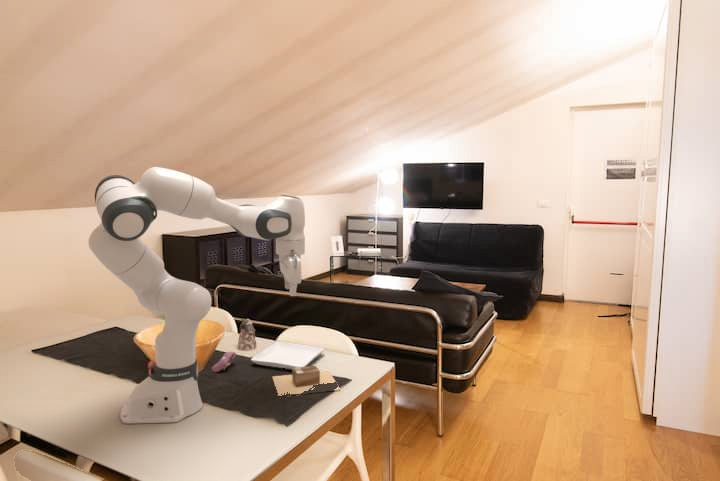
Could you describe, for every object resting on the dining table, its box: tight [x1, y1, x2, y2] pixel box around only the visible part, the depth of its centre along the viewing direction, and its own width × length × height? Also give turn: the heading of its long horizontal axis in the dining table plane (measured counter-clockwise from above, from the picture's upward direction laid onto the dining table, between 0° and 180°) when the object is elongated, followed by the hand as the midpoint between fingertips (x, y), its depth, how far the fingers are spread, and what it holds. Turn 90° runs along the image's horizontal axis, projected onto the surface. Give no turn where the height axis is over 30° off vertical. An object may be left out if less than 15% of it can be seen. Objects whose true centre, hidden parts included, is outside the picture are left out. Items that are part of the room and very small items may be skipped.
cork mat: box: [272, 370, 341, 397], centre depth 173 cm, size 20×16×1 cm
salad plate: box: [250, 341, 325, 371], centre depth 194 cm, size 21×21×3 cm
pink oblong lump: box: [211, 350, 237, 373], centre depth 185 cm, size 10×5×7 cm, turn 171°
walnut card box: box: [291, 365, 321, 387], centre depth 173 cm, size 5×8×5 cm, turn 112°
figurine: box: [237, 317, 257, 352], centre depth 206 cm, size 7×7×12 cm
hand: (290, 292), depth 161 cm, fingers open, 8 cm apart
